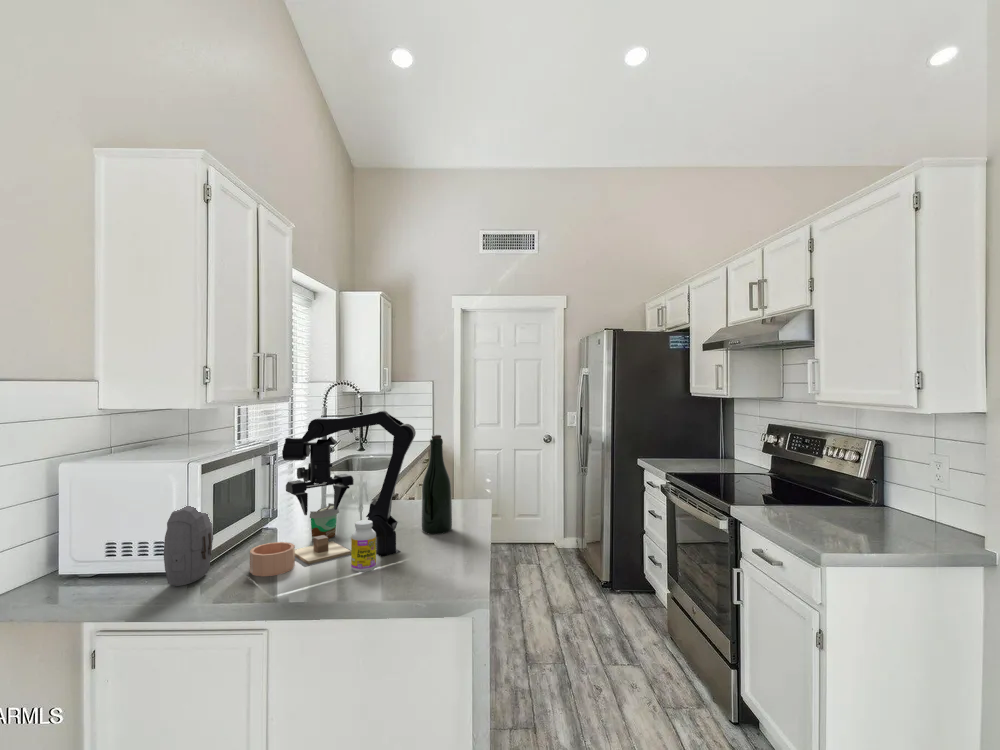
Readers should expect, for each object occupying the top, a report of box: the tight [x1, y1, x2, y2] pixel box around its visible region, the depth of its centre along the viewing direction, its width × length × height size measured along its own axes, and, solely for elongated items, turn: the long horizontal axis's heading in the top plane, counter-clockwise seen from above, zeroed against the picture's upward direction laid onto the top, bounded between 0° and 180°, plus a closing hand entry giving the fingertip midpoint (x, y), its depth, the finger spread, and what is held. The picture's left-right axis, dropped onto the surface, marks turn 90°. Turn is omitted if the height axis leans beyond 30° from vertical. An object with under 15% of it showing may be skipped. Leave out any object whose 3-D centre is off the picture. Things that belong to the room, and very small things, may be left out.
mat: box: [295, 541, 351, 568], centre depth 157 cm, size 16×16×1 cm
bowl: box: [249, 541, 296, 577], centre depth 144 cm, size 11×11×6 cm
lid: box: [295, 535, 351, 564], centre depth 157 cm, size 13×13×5 cm
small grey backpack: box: [163, 505, 214, 587], centre depth 137 cm, size 15×8×20 cm, turn 3°
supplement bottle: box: [350, 519, 377, 573], centre depth 145 cm, size 7×7×13 cm
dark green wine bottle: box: [421, 434, 453, 535], centre depth 181 cm, size 10×10×33 cm
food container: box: [309, 502, 340, 541], centre depth 174 cm, size 12×6×10 cm, turn 168°
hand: (320, 512), depth 157 cm, fingers open, 9 cm apart
